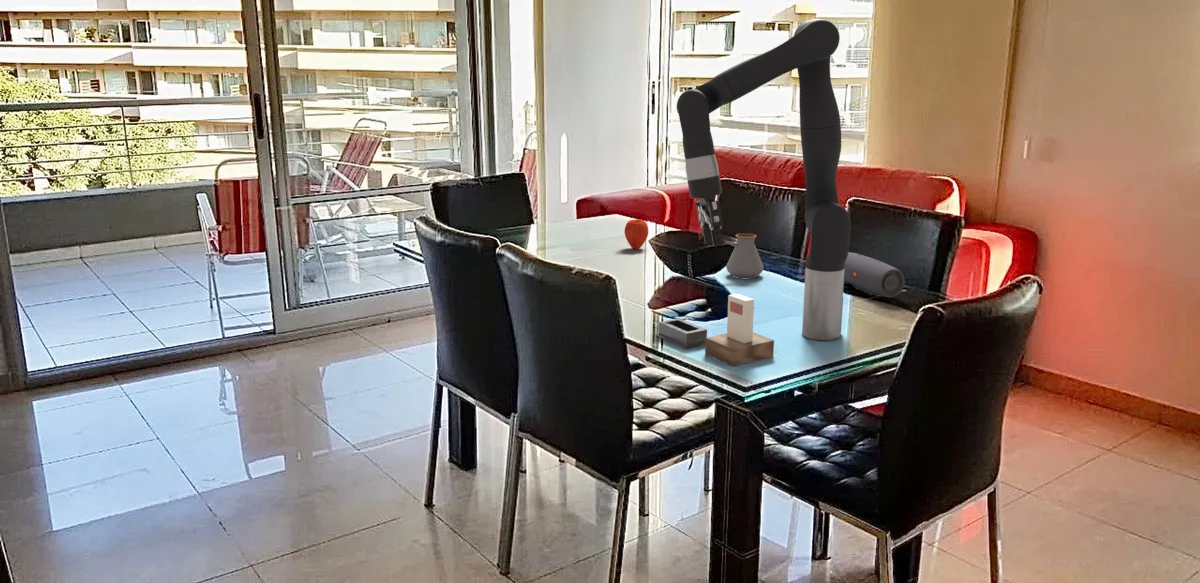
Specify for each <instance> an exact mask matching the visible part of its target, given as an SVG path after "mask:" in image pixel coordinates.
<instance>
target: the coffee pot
mask: <svg viewBox="0 0 1200 583" xmlns="http://www.w3.org/2000/svg"><path fill="white" fill-rule="evenodd" d="M700 235H701V237H700V239H702V237H704V235H703V231H700V232H699V234H698V236H700ZM735 238H736V240H737V242H736V243H734V242H731V241H728V240H726V239H724V238H722V240H723V244H727V245H730V246H732V247H734V249H733V251H732V253H731V254H730V257H729V259H728V261H727V263H726V266H725V268H726V270H727V272H728V274H730V275H731V276H732V275H733V276H735V277H738V278H737V279H739V278H752V279H756V278H758V276H759V275H760V274H761V273H762V272H763V270H764V265H763V264H764V263H763V262H762V259H761V257H760V255H759V252H758V249H757V247H756V244H755V240H756V238H757V235H756V234H753V233H737V234H735ZM733 276H732V277H733ZM735 277H734V278H735ZM755 277H756V278H755Z"/></svg>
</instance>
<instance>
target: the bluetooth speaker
mask: <svg viewBox="0 0 1200 583" xmlns="http://www.w3.org/2000/svg"><path fill="white" fill-rule="evenodd" d="M905 280H906V279H905V276H904V274H903V272H902V271H901V270H899V269H898V268H897V267H894V266H892V265H890V264H888V263H886V262H883V261H881V260H878V259H876V258H873V257H869V256H867V255H863V254H859V253H857V252H850V251H848V257H847V259H846V261H845V270H844V282H846V283H848V284H850V285H852V286H853V288H854V287H855V288H857V289H860V290H862V291H864V292H867V293H869V294H873V295H880V296H879V297H885V298H895V297H897V296H899V294H900V293H902V291H903V290H904V287H905V282H906V281H905ZM855 288H854V289H855ZM857 289H856V290H857Z"/></svg>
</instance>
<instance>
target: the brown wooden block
mask: <svg viewBox="0 0 1200 583" xmlns="http://www.w3.org/2000/svg"><path fill="white" fill-rule="evenodd" d="M704 346H705V347H704V348H705V350H704V355H706V356H708V355H709V356H708V357H710V356H711V358H713V357H714V358H713V359H715V358H716V359H715V360H718V361H719V360H720V362H721V363H724V362H725V363H724V364H726V363H727V364H726V365H729V366H731V367H736V366H740V364H741V365H745V364H748V363H753V361H754V362H757V360H758V361H761V360H765V359H771V358H774V353H775V352H774V346H775V340H774V339H771V338H770V337H767V336H764V335H761V334H758V333H756V332H754V331H753V338H752V342H748V343H742V342H739V341H737V340H734V339H732V338H729V337H727V332H726V333H722V334H717V335H713V336H712V335H711V336H707V338H706V339H705V345H704ZM770 357H771V358H770ZM744 363H745V364H744Z"/></svg>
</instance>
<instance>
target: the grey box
mask: <svg viewBox="0 0 1200 583" xmlns="http://www.w3.org/2000/svg"><path fill="white" fill-rule="evenodd" d="M655 336H656V337H657V338H660V339H662V340H664V341H665V342H666V341H667V342H668V343H671V344H673V345H674V346H677V347H680V348H683V349H684V350H688V349H692V348H697V347H702V345H703V346H705V339H706V338H707V337H708V329H706V328H704V327H701V326H700V325H697V324H694V323H692V322H690V321H687V320H684V319H682V318H679V317H678V318H677V317H676V318H673V319H668V320H667V319H666V320H663V321H658V332H656V333H655Z"/></svg>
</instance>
